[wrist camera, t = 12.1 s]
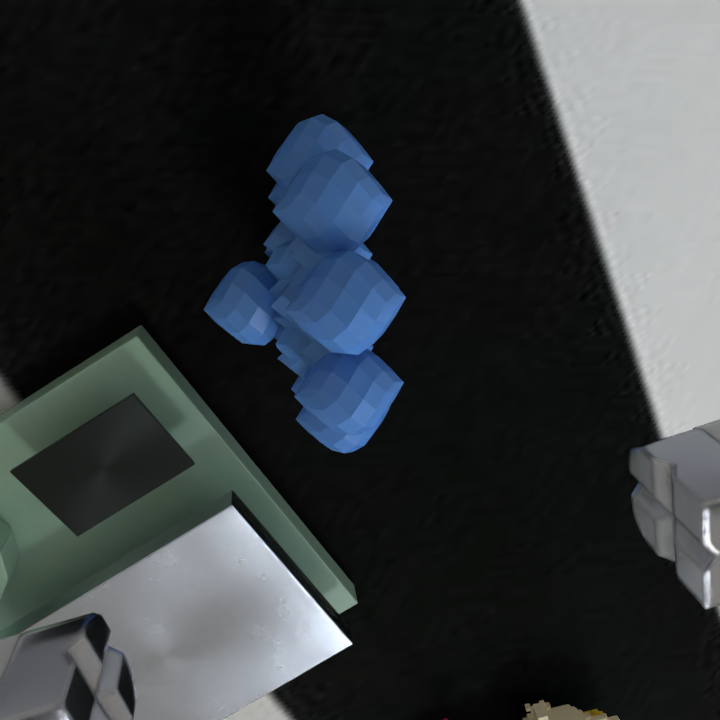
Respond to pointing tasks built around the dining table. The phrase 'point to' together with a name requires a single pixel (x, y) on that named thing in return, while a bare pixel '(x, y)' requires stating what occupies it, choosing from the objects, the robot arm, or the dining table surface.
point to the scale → (149, 513)
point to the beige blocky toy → (562, 713)
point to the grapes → (321, 285)
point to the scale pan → (179, 577)
